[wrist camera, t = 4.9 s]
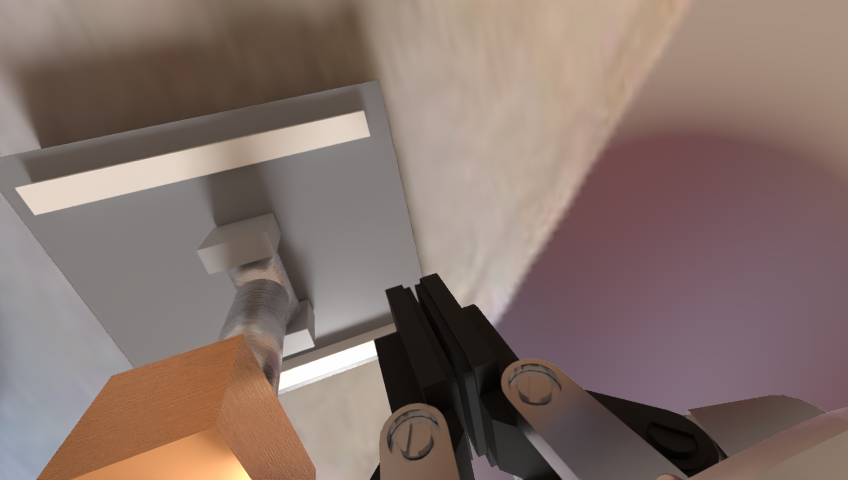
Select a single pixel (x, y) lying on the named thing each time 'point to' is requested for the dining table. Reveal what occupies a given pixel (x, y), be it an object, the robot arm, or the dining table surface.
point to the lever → (200, 403)
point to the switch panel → (230, 225)
